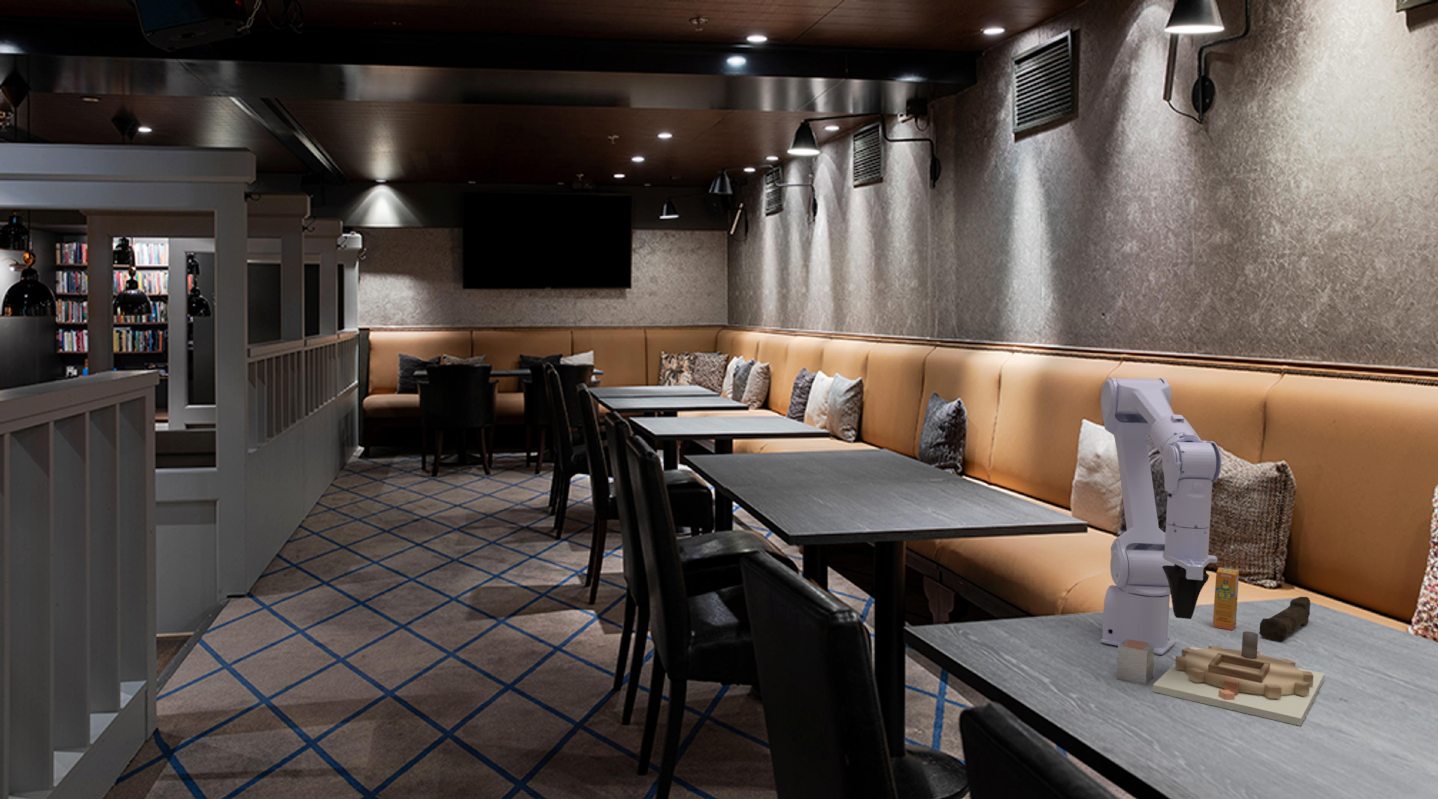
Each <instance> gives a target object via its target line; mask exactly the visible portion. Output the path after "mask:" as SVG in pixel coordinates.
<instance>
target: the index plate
mask: <svg viewBox="0 0 1438 799" xmlns="http://www.w3.org/2000/svg"><path fill="white" fill-rule="evenodd" d="M1189 648H1191V649H1194V650H1198V649H1202V648H1201V647H1200V648H1199V647H1197V646H1196V647H1194V646H1190V647H1189ZM1180 656H1181V657H1182V655H1180ZM1297 668H1298V669H1299V670H1300V671H1308V672H1311V673H1312V674H1313V686H1310V688H1309V694H1308V695H1305V696H1301V695H1298V694H1295V693H1293V694H1287V695H1281V699H1276V698H1268V697H1266V696H1265V695H1260V694H1251V693H1244V692H1238V693H1237V694H1234V693H1233V692H1231V691H1229V690H1224V688H1221V687H1217V686H1214V685H1211V684H1208V683H1205V682H1199V683H1196V682H1194V681H1192V680H1190V679H1188V676H1189V673H1188V672H1187V671H1186V670H1178V669H1176V667H1175V662H1174V664H1172V665H1171V666H1170V667H1169V668H1168V669H1167V670H1166V671H1165V672H1164V673H1163V674H1162V675H1161V676H1160V677H1159V678H1157V680H1156V681H1155V682H1154V683H1153V684H1152V693H1158V694H1161V695H1166V696H1170V697H1175V698H1177V699H1183V700H1186V701H1192V702H1194V703H1195V702H1196V703H1201V704H1204V705H1209V706H1213V707H1217V708H1221V709H1226V710H1231V711H1234V712H1238V713H1243V714H1247V715H1250V716H1251V715H1252V716H1256V717H1261V718H1265V719H1267V720H1268V719H1269V720H1273V721H1278V722H1281V723H1285V724H1286V723H1287V724H1291V725H1295V726H1299V727H1301V726H1302V725H1303V723H1304V721H1305V719H1306V717H1307V714H1308V713H1309V711H1310V708H1311V707H1312V705H1313V703H1314V701H1315V699H1316V698H1317V695H1318V693H1319V691H1320V689H1321V687H1322V685H1323V683H1324V681H1325V677H1326V676H1325V673H1324V672H1321V671H1320V672H1319V671H1315V670H1312V669H1311V670H1310V669H1304V668H1300V667H1297Z"/></svg>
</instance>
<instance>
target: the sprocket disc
mask: <svg viewBox="0 0 1438 799" xmlns="http://www.w3.org/2000/svg"><path fill="white" fill-rule="evenodd" d="M1258 642H1259V633H1257V632H1255V631H1246V630H1245V631H1242V641H1241V649H1240V650H1239V649H1230V648H1223V647H1222V646H1220V645H1208V647H1207V648H1201V649H1198V650H1194V649H1191V648H1190V647H1185V648H1182V649H1181V655H1176V656H1175V662H1174V663H1175V667H1176V669H1178V670H1186V671H1187V672H1188V673H1189V676H1188V679H1190V680H1192V681H1194V682H1196V683H1199V682H1205V683H1208V684H1211V685H1214V686H1217V687H1221V688H1224V690H1229V691H1231V692H1233V693H1234V694H1237V693H1238V692H1244V693H1251V694H1260V695H1265V696H1266V697H1268V698H1276V699H1281V695H1287V694H1293V693H1295V694H1298V695H1301V696H1305V695H1308V694H1309V688H1310V686H1313V674H1312V673H1311V672H1308V671H1300V670H1299V669H1298V668H1299V667H1296V662H1295V661H1293V660H1290V659H1287V658H1283V659H1280V658H1276V657H1272V656H1269V655H1264V654H1261V653H1260V651H1258V645H1259V644H1258ZM1181 656H1182V657H1181Z"/></svg>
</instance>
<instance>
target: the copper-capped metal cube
mask: <svg viewBox="0 0 1438 799" xmlns="http://www.w3.org/2000/svg"><path fill="white" fill-rule="evenodd" d="M1154 649H1155V645H1154V644H1149V643H1146V642H1141V641H1136V640H1131V639H1130V640H1129V639H1125V640H1124V641H1123V642H1122V643H1120V644H1119V645H1118V646H1117V657H1116V658H1117V659H1116V660H1117V662H1116V680H1119V681H1124V682H1129V683H1133V684H1138V685H1141V686H1147V685H1149V683H1150V682H1151V681H1152V680H1153V679H1154V667H1155V664H1154V663H1155V654H1154Z"/></svg>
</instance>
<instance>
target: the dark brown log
mask: <svg viewBox="0 0 1438 799" xmlns="http://www.w3.org/2000/svg"><path fill="white" fill-rule="evenodd" d="M1310 610H1311V599H1310V598H1309V597H1307V596H1298V597H1296V598H1292V599H1291V600H1290V602H1289V605H1288V607H1286V608H1285V609H1283V610H1281V611H1280V612H1278V613H1277V614H1274V615H1273V616H1271V617H1267V618H1265V617H1264V618H1262V619H1261V621H1260V623H1259V632H1258V634H1259V635H1260V637H1261V638H1262V639H1264V640H1269V641H1272V642H1276V643H1279V642H1284V640H1286V637H1287V636H1288V634H1290V633H1291V632H1294V631H1296V629H1298V628H1299V627H1303V628H1304V627H1306V626H1307V625H1308V623H1309V618H1310V615H1311V611H1310Z"/></svg>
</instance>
